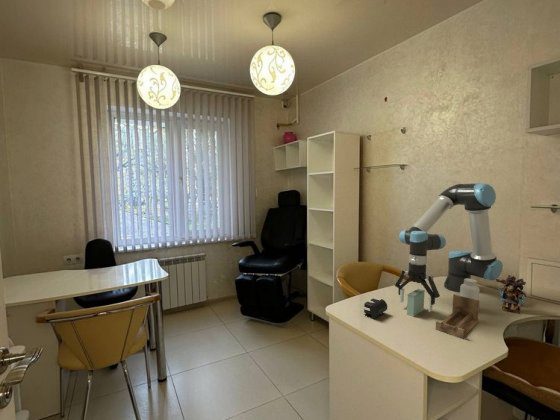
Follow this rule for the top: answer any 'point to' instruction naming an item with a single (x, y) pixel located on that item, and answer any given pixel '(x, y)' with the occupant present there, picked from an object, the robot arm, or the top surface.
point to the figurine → (512, 293)
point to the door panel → (415, 302)
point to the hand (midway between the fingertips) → (415, 306)
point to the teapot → (519, 299)
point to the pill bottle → (470, 289)
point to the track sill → (460, 317)
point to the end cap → (375, 308)
